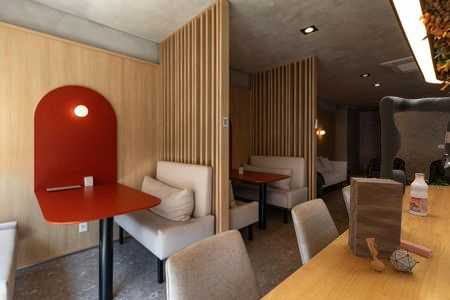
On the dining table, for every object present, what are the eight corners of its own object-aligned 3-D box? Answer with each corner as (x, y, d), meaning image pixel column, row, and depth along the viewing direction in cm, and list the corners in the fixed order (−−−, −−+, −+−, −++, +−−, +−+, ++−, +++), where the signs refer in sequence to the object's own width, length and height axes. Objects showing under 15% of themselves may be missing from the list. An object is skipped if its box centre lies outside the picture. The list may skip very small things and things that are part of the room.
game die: (395, 279, 86) (377, 254, 89) (408, 267, 89) (390, 243, 92) (417, 280, 78) (396, 252, 81) (430, 267, 81) (409, 241, 84)
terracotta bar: (377, 237, 116) (378, 231, 116) (432, 256, 97) (432, 249, 97) (374, 238, 115) (374, 232, 115) (428, 258, 95) (428, 251, 95)
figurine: (381, 277, 81) (383, 244, 80) (362, 270, 85) (363, 239, 84) (385, 268, 87) (387, 237, 86) (367, 262, 91) (368, 233, 91)
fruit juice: (429, 217, 148) (431, 175, 147) (411, 214, 152) (413, 174, 151) (424, 213, 156) (426, 173, 155) (407, 211, 161) (409, 172, 160)
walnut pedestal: (348, 243, 107) (350, 177, 106) (386, 248, 103) (389, 179, 102) (355, 256, 96) (358, 181, 94) (399, 261, 91) (403, 184, 90)
